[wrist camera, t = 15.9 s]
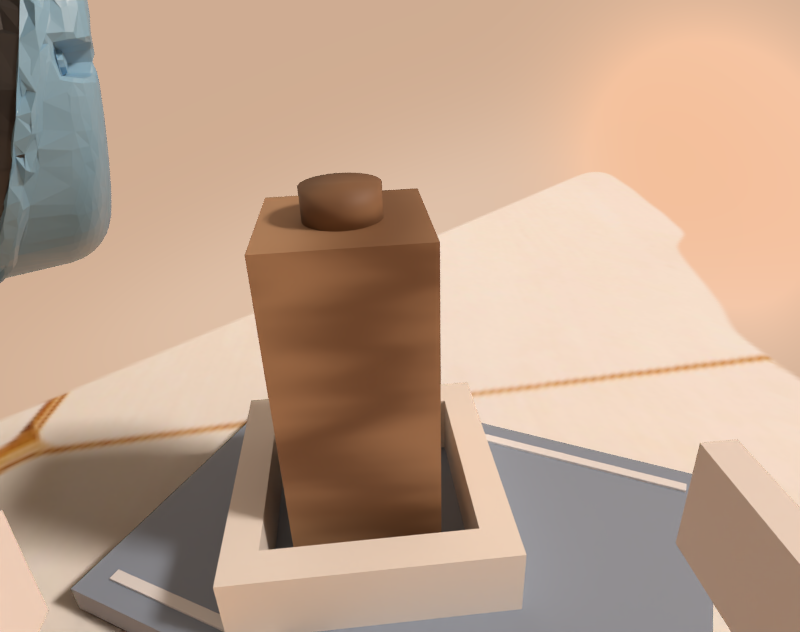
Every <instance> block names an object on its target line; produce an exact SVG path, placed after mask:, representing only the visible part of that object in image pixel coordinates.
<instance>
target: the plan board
mask: <svg viewBox="0 0 800 632" xmlns="http://www.w3.org/2000/svg"><path fill="white" fill-rule="evenodd" d="M481 424H482V427H483V430H484V433H485V435H486V438H487V441H488V444H489V447H490V450H491V453H492V456H493V459H494V462H495V465H496V467H497V470H498V473H499V476H500V479H501V482H502V485H503V488H504V491H505V494H506V497H507V499H508V502H509V505H510V508H511V511H512V514H513V517H514V520H515V523H516V526H517V529H518V531H519V534H520V537H521V540H522V543H523V546H524V549H525V552H526V567H525V579H524V590H523V602H522V609H518V610H508V611H499V612H490V613H481V614H472V615H463V616H454V617H445V618H436V619H427V620H418V621H409V622H400V623H391V624H382V625H372V626H363V627H354V628H345V629H336V630H327V631H318V632H713V602H712V600H711V599H710V597H709V596H708V594H707V592H706V591H705V589H704V588H703V586H702V584H701V583H700V581H699V580H698V578H697V576H696V575H695V573H694V572H693V570H692V569H691V567H690V565H689V564H688V562H687V561H686V559H685V557H684V556H683V554H682V553H681V551H680V549H679V548H678V546H677V545H676V539H677V535H678V531H679V527H680V523H681V519H682V515H683V511H684V507H685V503H686V498H687V494H688V490H689V486H690V482H691V478H692V474H690V473H685V472H681V471H677V470H673V469H669V468H665V467H661V466H657V465H652V464H648V463H644V462H640V461H636V460H632V459H628V458H624V457H619V456H615V455H611V454H607V453H603V452H599V451H595V450H590V449H586V448H582V447H578V446H574V445H570V444H566V443H562V442H557V441H553V440H549V439H545V438H541V437H537V436H533V435H529V434H524V433H520V432H516V431H512V430H508V429H504V428H500V427H496V426H491V425H487V424H483V423H481ZM245 429H246V424H245V425H244V426H243V427H242V428H241V429H240V430H239V431H238V432H237V433H236V434H235V435H234V436H233V437H232V438H231V439H230V440H228V441H227V442H226V443H225V444H224V445H223V446H222V447H221V448H220V449H219V450H218V451H217V452H216V453H215V454H214V455H213V456H211V457H210V458H209V459H208V460H207V461H206V462H205V463H204V464H203V465H202V466H201V467H200V468H199V469H198V470H197V471H196V472H194V473H193V474H192V475H191V476H190V477H189V478H188V479H187V480H186V481H185V482H184V483H183V484H182V485H181V486H180V487H178V488H177V489H176V490H175V491H174V492H173V493H172V494H171V495H170V496H169V497H168V498H167V499H166V500H165V501H164V502H163V503H161V504H160V505H159V506H158V507H157V508H156V509H155V510H154V511H153V512H152V513H151V514H150V515H149V516H148V517H147V518H146V519H144V520H143V521H142V522H141V523H140V524H139V525H138V526H137V527H136V528H135V529H134V530H133V531H132V532H131V533H130V534H128V535H127V536H126V537H125V538H124V539H123V540H122V541H121V542H120V543H119V544H118V545H117V546H116V547H115V548H114V549H113V550H111V551H110V552H109V553H108V554H107V555H106V556H105V557H104V558H103V559H102V560H101V561H100V562H99V563H98V564H97V565H96V566H94V567H93V568H92V569H91V570H90V571H89V572H88V573H87V574H86V575H85V576H84V577H83V578H82V579H81V580H80V581H79V582H77V583H76V584H75V585H74V586H73V587H72V588H71V590H72V593H73V595H74V597H75V600H76V602H77V604H78V607H79V608H80V609H82V610H84V611H86V612H88V613H90V614H92V615H94V616H97V617H99V618H101V619H103V620H105V621H107V622H109V623H111V624H113V625H115V626H117V627H119V628H121V629H123V630H125V631H127V632H225V631H224V627H223V624H222V620H221V616H220V612H219V609H218V605H217V601H216V597H215V594H214V590H213V585H214V580H215V575H216V570H217V565H218V560H219V556H220V551H221V546H222V541H223V536H224V531H225V526H226V522H227V517H228V512H229V507H230V502H231V497H232V492H233V488H234V483H235V478H236V473H237V468H238V463H239V458H240V453H241V449H242V444H243V439H244V434H245ZM459 530H465V528H464V524H463V520H462V516H461V512H460V507H459V503H458V499H457V495H456V491H455V487H454V483H453V479H452V475H451V471H450V467H449V462H448V458H447V454H446V450H445V447H441V531H442V532H449V531H459ZM291 547H293V542H292V536H291V530H290V524H289V518H288V512H287V506H286V500H285V494H284V488H283V482H282V492H281V501H280V510H279V520H278V529H277V539H276V548H275V549H281V548H291Z"/></svg>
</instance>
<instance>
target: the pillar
mask: <svg viewBox="0 0 800 632" xmlns="http://www.w3.org/2000/svg"><path fill="white" fill-rule="evenodd" d="M297 188H298V196H286V197H270V198H265V200H264V203H263V205H262V208H261V211H260V214H259V217H258V219H257V222H256V225H255V228H254V231H253V234H252V236H251V239H250V242H249V245H248V247H247V250H246V253H245V260H246V266H247V272H248V277H249V284H250V289H251V296H252V302H253V308H254V314H255V320H256V326H257V332H258V338H259V344H260V350H261V356H262V362H263V368H264V374H265V380H266V386H267V392H268V398H269V404H270V410H271V416H272V422H273V428H274V434H275V440H276V446H277V452H278V458H279V464H280V470H281V476H282V482H283V488H284V494H285V500H286V506H287V512H288V518H289V524H290V530H291V536H292V542H293V547H301V546H311V545H320V544H330V543H340V542H350V541H360V540H370V539H380V538H390V537H400V536H410V535H420V534H430V533H439V532H442V531H441V367H440V242H439V239H438V237H437V234H436V232H435V230H434V227H433V225H432V223H431V220H430V218H429V216H428V213H427V210H426V208H425V206H424V203H423V201H422V198H421V196H420V194H419V191H418V189H401V190H385V191H382V181H381V179H379V178H378V177H376V176H373V175H369V174H362V173H334V174H326V175H320V176H316V177H312V178H309V179H306V180H304V181H302V182H300V183H299V185H298V186H297Z"/></svg>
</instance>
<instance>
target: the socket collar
mask: <svg viewBox="0 0 800 632" xmlns="http://www.w3.org/2000/svg"><path fill="white" fill-rule="evenodd" d="M441 447H445V450H446V454H447V458H448V462H449V467H450V471H451V475H452V479H453V483H454V487H455V491H456V495H457V499H458V503H459V507H460V512H461V516H462V520H463V524H464V528H465V530H459V531H449V532H439V533H430V534H420V535H410V536H400V537H390V538H380V539H370V540H360V541H350V542H340V543H330V544H320V545H311V546H301V547H291V548H281V549H275V548H276V539H277V529H278V520H279V510H280V501H281V492H282V476H281V470H280V464H279V458H278V452H277V446H276V440H275V434H274V428H273V422H272V416H271V410H270V404H269V399H265V400H253V401H251V405H250V410H249V415H248V419H247V424H246V429H245V434H244V439H243V444H242V449H241V453H240V458H239V463H238V468H237V473H236V478H235V483H234V488H233V492H232V497H231V502H230V507H229V512H228V517H227V522H226V526H225V531H224V536H223V541H222V546H221V551H220V556H219V560H218V565H217V570H216V575H215V580H214V585H213V590H214V594H215V597H216V601H217V605H218V609H219V612H220V616H221V620H222V624H223V627H224V631H225V632H318V631H327V630H336V629H345V628H354V627H363V626H372V625H382V624H391V623H400V622H409V621H418V620H427V619H436V618H445V617H454V616H463V615H472V614H481V613H490V612H499V611H508V610H518V609H522V602H523V590H524V579H525V567H526V552H525V549H524V546H523V543H522V540H521V537H520V534H519V531H518V529H517V526H516V523H515V520H514V517H513V514H512V511H511V508H510V505H509V502H508V499H507V497H506V494H505V491H504V488H503V485H502V482H501V479H500V476H499V473H498V470H497V467H496V465H495V462H494V459H493V456H492V453H491V450H490V447H489V444H488V441H487V438H486V435H485V433H484V430H483V427H482V424H481V421H480V418H479V415H478V412H477V409H476V406H475V403H474V400H473V398H472V395H471V392H470V389H469V386H468V383H467V382H466V383H454V384H442V385H441Z"/></svg>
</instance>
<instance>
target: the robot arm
mask: <svg viewBox="0 0 800 632" xmlns="http://www.w3.org/2000/svg"><path fill="white" fill-rule="evenodd" d="M93 57H94V49H93V43H92V38H91V32H90V15H89V8H88V2H87V0H0V283H1V282H2V281H3V280H4V279H5V278H8V277H11V276H16V275H21V274H25V273H29V272H33V271H38V270H42V269H46V268H50V267H55V266H59V265H63V264H67V263H71V262H74V261H77V260H79V259H82V258H84V257H85V256H87V255H89V254H90V253H91V252H93V251H94V250H95V249H96V248H97V247H98V246H99V245H100V243H101V242H102V240H103V239H104V237H105V235H106V233H107V230H108V228H109V223H110V218H111V183H110V171H109V170H110V169H109V157H108V147H107V137H106V129H105V120H104V112H103V105H102V98H101V91H100V84H99V79H98V76H97V71H96V69H95V67H94V65H93V63H92V61H93ZM676 545H677V546H678V548H679V549H680V551H681V553H682V554H683V556H684V557H685V559H686V561H687V562H688V564H689V565H690V567H691V569H692V570H693V572H694V573H695V575H696V576H697V578H698V580H699V581H700V583H701V584H702V586H703V588H704V589H705V591H706V592H707V594H708V596H709V597H710V599H711V600H712V602H713V604H714V605H715V607H716V608H717V610H718V612H719V613H720V615H721V616H722V618H723V619H724V621H725V623H726V624H727V626H728V627H729V629H730V631H731V632H800V507H799V506H798V505H797V504H796V503H795V502H794V501H793V499H792V498H791V497H790V496H789V495H788V494H787V493H786V492H785V491H784V490H783V489H782V487H781V486H780V485H779V484H778V483H777V482H776V481H775V480H774V479H773V478H772V477H771V475H770V474H769V473H768V472H767V471H766V470H765V469H764V468H763V467H762V466H761V464H760V463H759V462H758V461H757V460H756V459H755V458H754V457H753V456H752V455H751V454H750V452H749V451H748V450H747V449H746V448H745V447H744V446H743V445H742V444H741V443H740V442H739V440H738V439H737V440H726V441H716V442H705V443H700V445H699V450H698V454H697V458H696V462H695V466H694V470H693V474H692V478H691V482H690V486H689V490H688V494H687V498H686V503H685V507H684V511H683V515H682V519H681V523H680V527H679V531H678V535H677V539H676ZM48 611H49V610H48V607H47V605H46V603H45V601H44V599H43V597H42V594H41V592H40V590H39V588H38V586H37V584H36V582H35V579H34V577H33V575H32V573H31V571H30V569H29V566H28V564H27V562H26V560H25V558H24V556H23V553H22V551H21V549H20V547H19V545H18V543H17V541H16V538H15V536H14V534H13V532H12V530H11V528H10V525H9V523H8V521H7V519H6V517H5V515H4V512H3V510H0V632H39V631H40V629H41V626H42V624H43V622H44V620H45V618H46V616H47V613H48Z"/></svg>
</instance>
